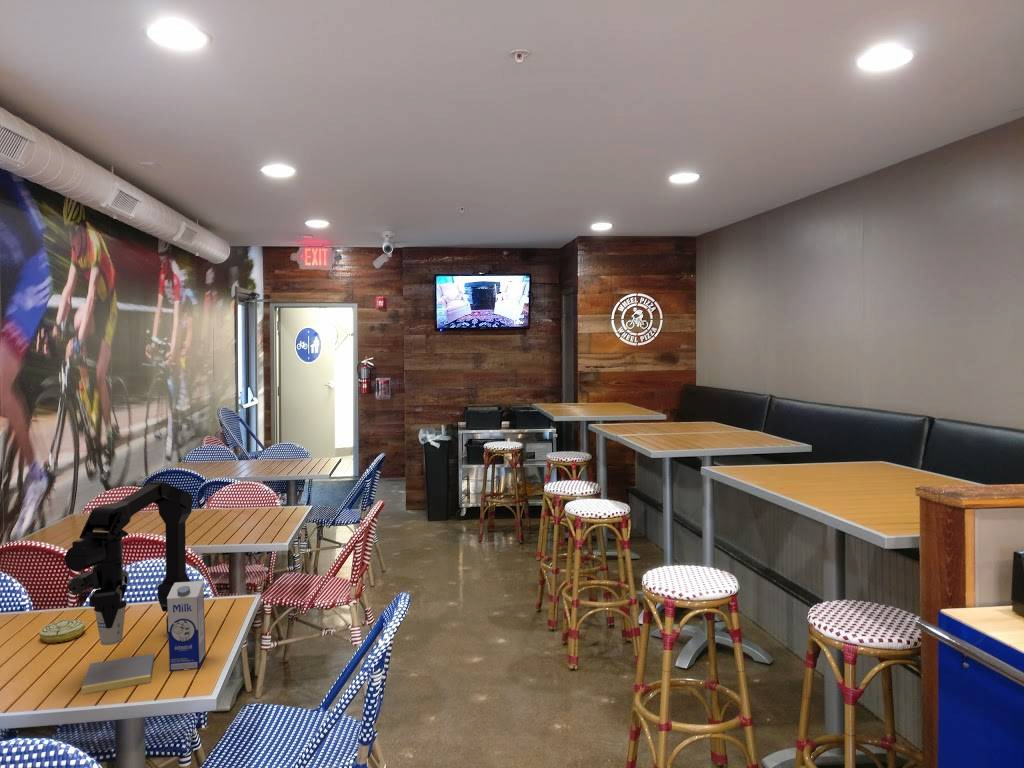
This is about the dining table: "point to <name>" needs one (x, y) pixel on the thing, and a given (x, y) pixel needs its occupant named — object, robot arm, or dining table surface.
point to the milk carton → (186, 625)
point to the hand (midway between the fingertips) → (111, 622)
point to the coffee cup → (116, 632)
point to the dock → (118, 673)
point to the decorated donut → (62, 631)
